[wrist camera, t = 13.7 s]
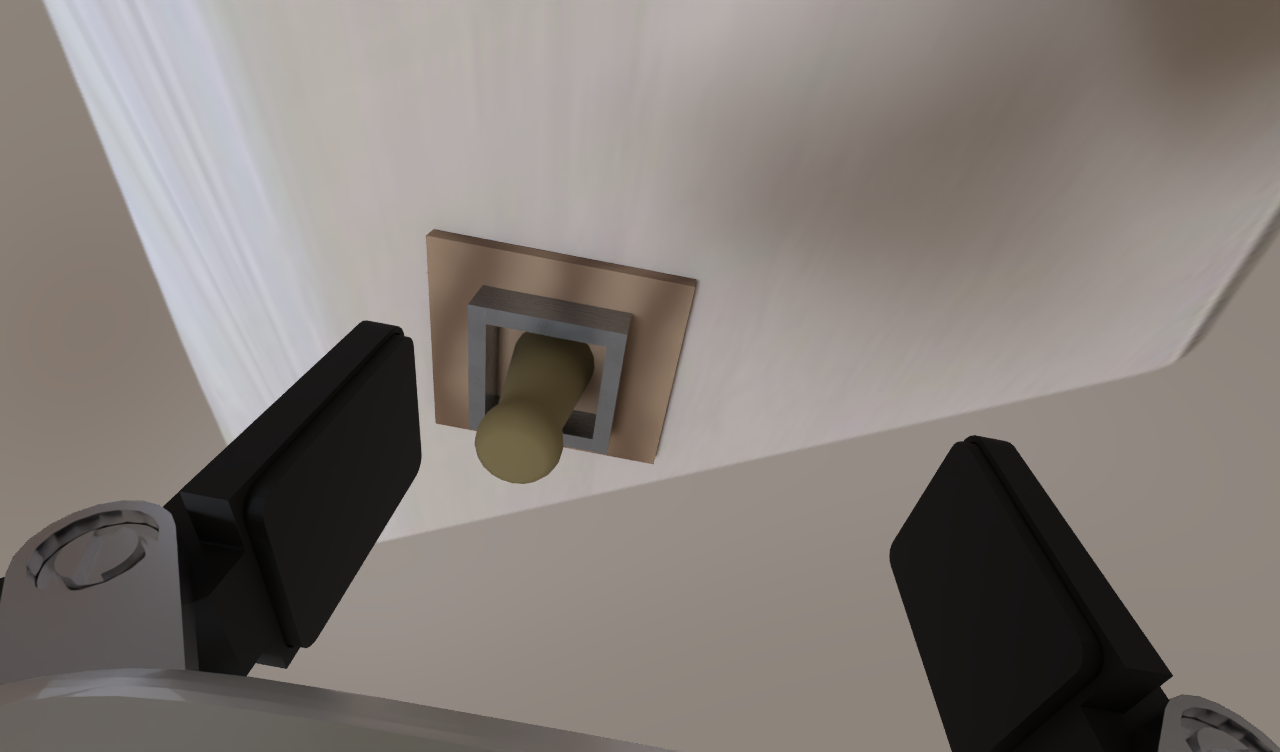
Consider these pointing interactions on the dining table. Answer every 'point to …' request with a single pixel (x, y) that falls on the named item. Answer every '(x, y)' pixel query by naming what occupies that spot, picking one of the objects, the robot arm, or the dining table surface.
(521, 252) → the collar board
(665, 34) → the dining table surface
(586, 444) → the collar
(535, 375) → the cork
